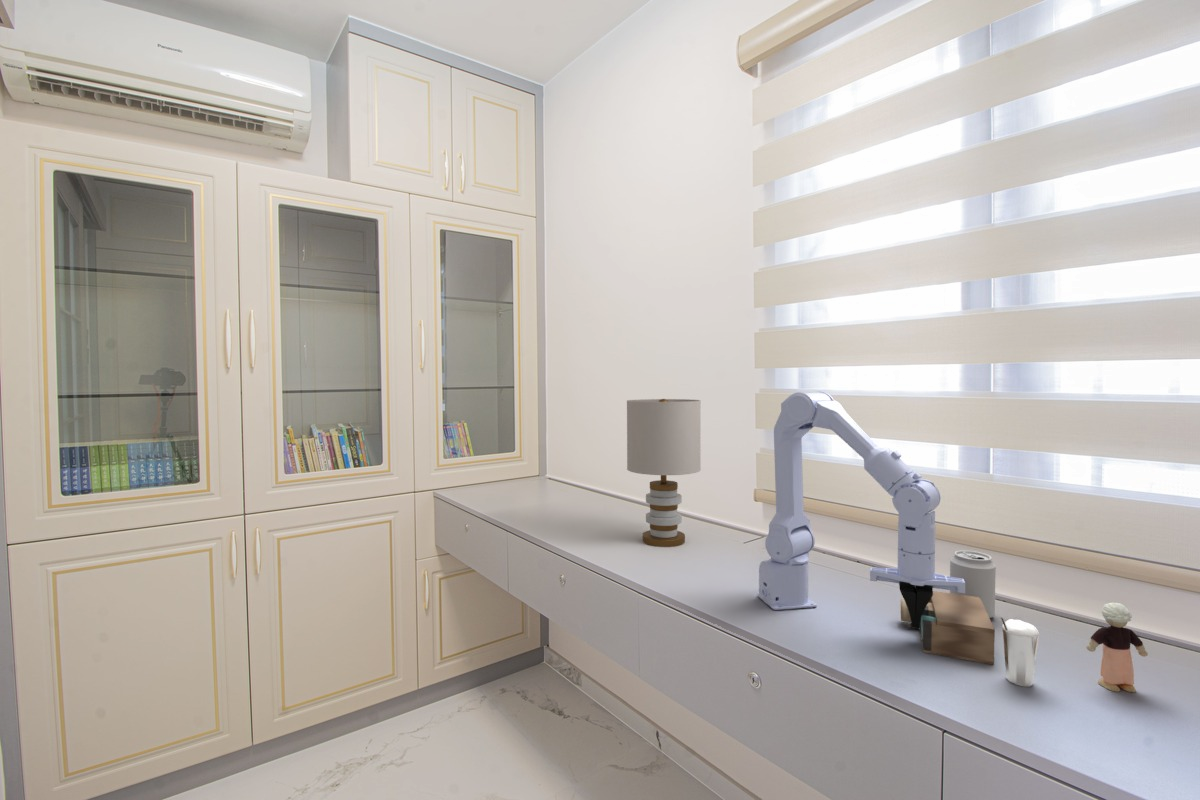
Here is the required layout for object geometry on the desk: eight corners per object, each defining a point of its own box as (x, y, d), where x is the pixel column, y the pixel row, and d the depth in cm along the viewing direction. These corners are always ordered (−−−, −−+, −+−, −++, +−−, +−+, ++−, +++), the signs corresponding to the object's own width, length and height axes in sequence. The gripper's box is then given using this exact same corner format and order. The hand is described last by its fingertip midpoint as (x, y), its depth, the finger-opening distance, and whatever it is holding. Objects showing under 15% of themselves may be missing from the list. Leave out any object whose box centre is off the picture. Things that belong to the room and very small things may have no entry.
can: (980, 625, 106) (981, 562, 106) (941, 611, 113) (942, 551, 113) (1003, 617, 110) (1004, 556, 109) (963, 604, 116) (964, 546, 116)
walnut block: (923, 652, 96) (923, 618, 96) (917, 618, 110) (917, 588, 109) (994, 664, 92) (994, 629, 92) (979, 628, 105) (979, 597, 105)
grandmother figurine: (1126, 679, 87) (1128, 597, 87) (1151, 693, 83) (1153, 608, 83) (1077, 680, 87) (1079, 598, 86) (1100, 694, 83) (1102, 609, 83)
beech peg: (901, 624, 106) (901, 602, 105) (900, 616, 109) (900, 595, 109) (964, 634, 101) (965, 612, 101) (961, 625, 105) (962, 604, 105)
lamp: (660, 527, 178) (660, 397, 177) (715, 541, 163) (715, 398, 162) (612, 540, 164) (611, 399, 163) (667, 556, 149) (667, 400, 147)
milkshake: (989, 674, 89) (990, 611, 88) (1021, 672, 89) (1022, 610, 89) (1012, 690, 84) (1013, 624, 84) (1046, 688, 85) (1047, 622, 84)
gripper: (870, 550, 99) (869, 627, 100) (968, 561, 93) (966, 643, 93) (870, 540, 106) (869, 612, 106) (962, 550, 99) (961, 626, 100)
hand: (915, 625), depth 100 cm, fingers closed
